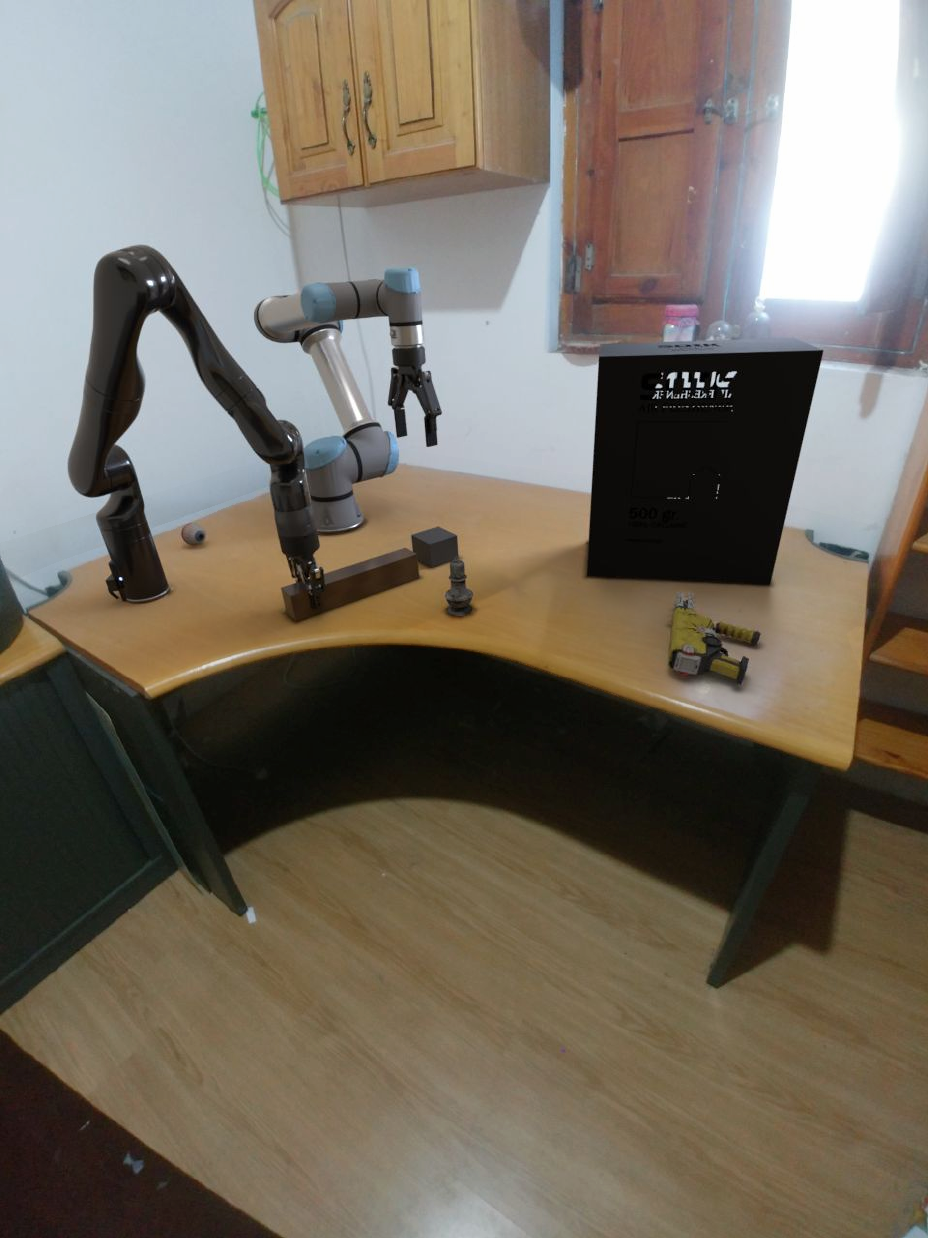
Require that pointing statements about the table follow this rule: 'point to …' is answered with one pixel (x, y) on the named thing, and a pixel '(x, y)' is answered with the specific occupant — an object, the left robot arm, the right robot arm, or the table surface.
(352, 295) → the right robot arm
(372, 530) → the table surface
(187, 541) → the eyeball
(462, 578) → the salt shaker
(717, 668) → the toy gun
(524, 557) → the table surface
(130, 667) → the table surface
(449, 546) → the cap block
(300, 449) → the left robot arm
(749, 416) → the cardboard box
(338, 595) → the dark wooden beam
